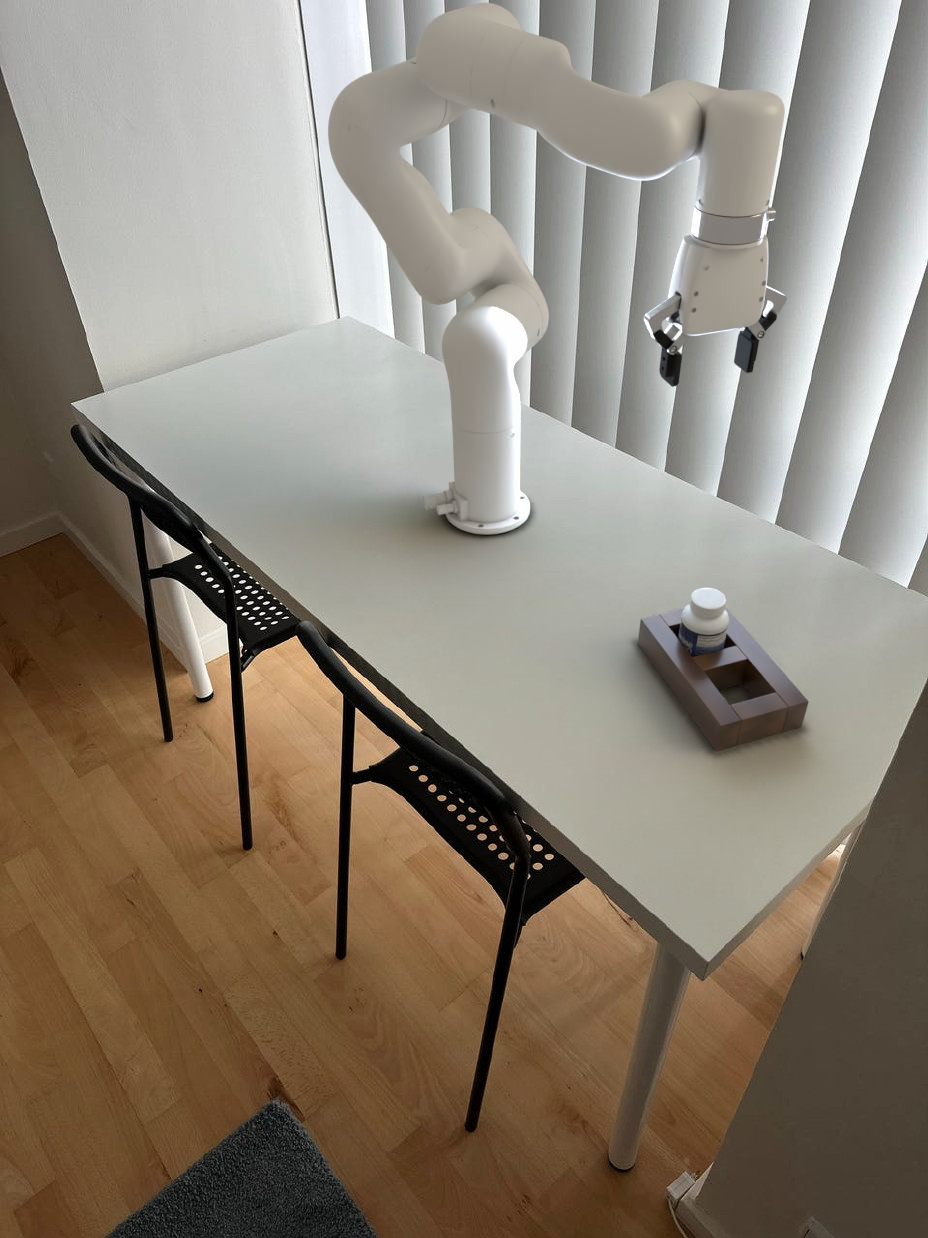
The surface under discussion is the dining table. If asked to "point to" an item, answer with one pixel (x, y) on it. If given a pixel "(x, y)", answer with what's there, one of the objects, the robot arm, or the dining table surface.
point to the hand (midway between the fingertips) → (706, 374)
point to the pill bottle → (704, 622)
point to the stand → (724, 682)
